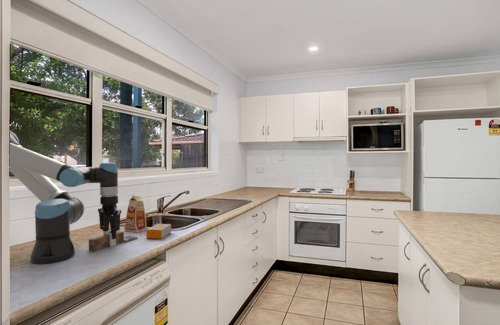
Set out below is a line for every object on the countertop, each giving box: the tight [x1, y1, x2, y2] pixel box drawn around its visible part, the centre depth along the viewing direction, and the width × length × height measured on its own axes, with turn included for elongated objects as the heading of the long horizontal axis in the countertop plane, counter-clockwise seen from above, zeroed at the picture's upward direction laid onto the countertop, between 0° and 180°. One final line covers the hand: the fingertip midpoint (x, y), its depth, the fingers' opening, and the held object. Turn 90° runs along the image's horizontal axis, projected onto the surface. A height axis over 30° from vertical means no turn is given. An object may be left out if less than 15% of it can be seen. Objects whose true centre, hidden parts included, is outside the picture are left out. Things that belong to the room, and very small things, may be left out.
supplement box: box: [145, 223, 172, 240], centre depth 153 cm, size 8×5×13 cm
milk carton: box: [123, 195, 148, 233], centre depth 166 cm, size 9×9×20 cm
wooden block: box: [88, 230, 138, 252], centre depth 139 cm, size 23×6×5 cm, turn 153°
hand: (110, 245), depth 137 cm, fingers open, 3 cm apart
